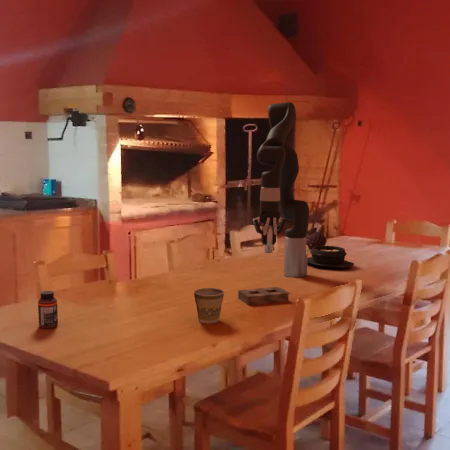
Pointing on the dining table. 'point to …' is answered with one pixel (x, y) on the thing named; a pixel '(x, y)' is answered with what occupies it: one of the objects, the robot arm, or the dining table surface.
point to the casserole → (328, 257)
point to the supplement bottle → (47, 310)
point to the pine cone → (316, 240)
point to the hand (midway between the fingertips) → (268, 244)
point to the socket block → (263, 295)
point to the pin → (269, 240)
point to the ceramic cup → (208, 304)
